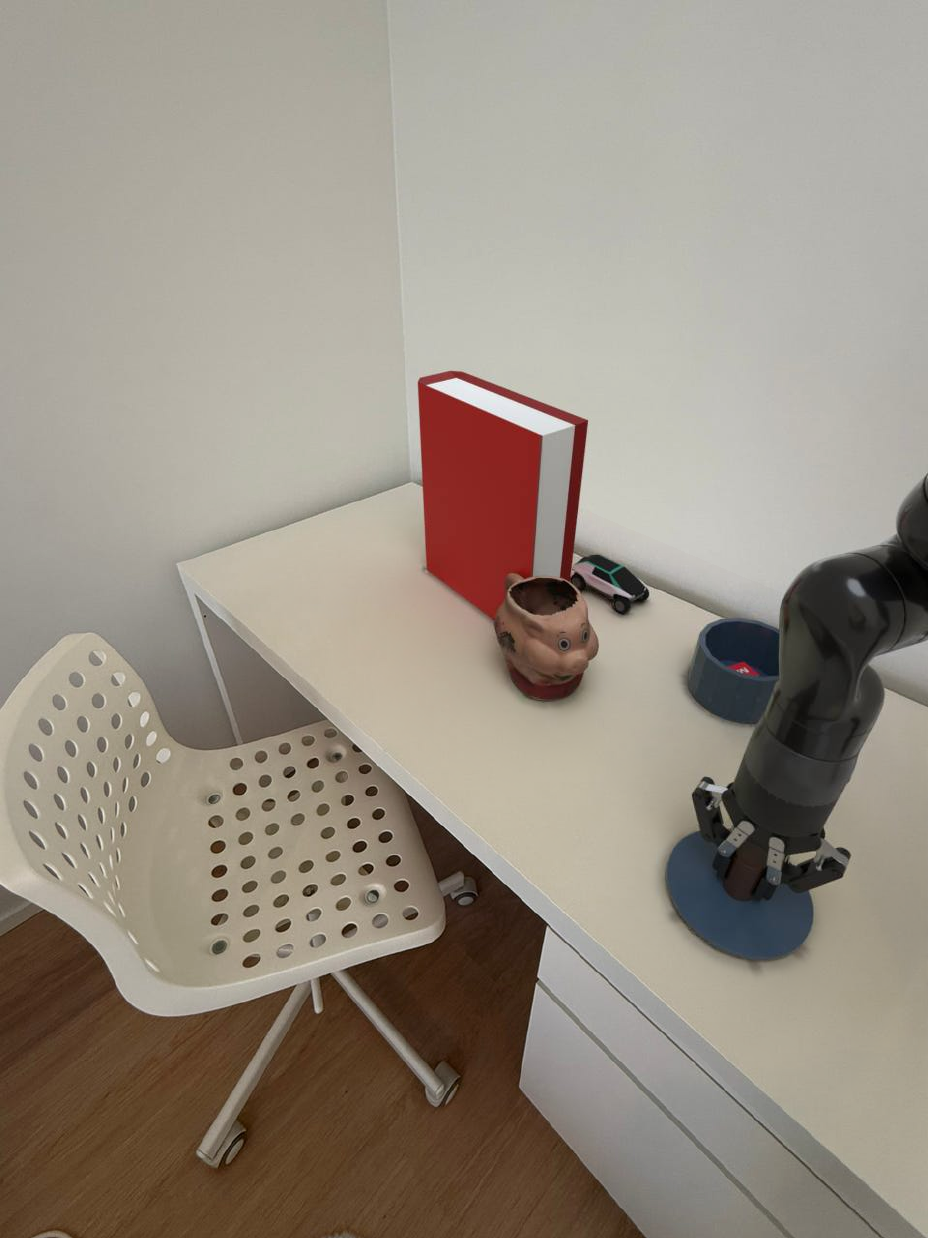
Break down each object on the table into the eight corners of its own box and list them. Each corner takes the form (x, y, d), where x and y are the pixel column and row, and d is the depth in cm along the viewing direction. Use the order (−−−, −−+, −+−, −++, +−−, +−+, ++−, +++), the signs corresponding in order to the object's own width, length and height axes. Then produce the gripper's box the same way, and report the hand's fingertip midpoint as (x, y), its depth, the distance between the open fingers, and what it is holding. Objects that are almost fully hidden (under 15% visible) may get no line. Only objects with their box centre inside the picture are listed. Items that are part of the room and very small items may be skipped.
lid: (827, 884, 65) (851, 845, 61) (782, 996, 57) (806, 960, 53) (698, 812, 72) (711, 773, 68) (641, 903, 64) (652, 864, 60)
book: (565, 624, 100) (588, 420, 80) (526, 644, 96) (540, 435, 76) (458, 551, 117) (456, 369, 97) (422, 566, 113) (412, 379, 94)
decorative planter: (464, 646, 95) (463, 566, 87) (532, 621, 100) (538, 543, 92) (542, 733, 81) (550, 648, 73) (617, 699, 86) (633, 616, 78)
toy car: (589, 572, 111) (593, 545, 108) (648, 602, 104) (653, 574, 101) (567, 585, 108) (570, 558, 105) (625, 617, 101) (630, 589, 98)
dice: (736, 697, 86) (742, 681, 84) (720, 683, 88) (726, 667, 86) (753, 691, 87) (759, 675, 85) (738, 677, 89) (743, 661, 87)
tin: (798, 685, 88) (816, 642, 84) (766, 739, 81) (784, 695, 76) (709, 648, 95) (721, 606, 90) (672, 694, 87) (683, 651, 83)
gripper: (693, 751, 54) (656, 868, 64) (877, 845, 47) (803, 959, 57) (727, 702, 59) (688, 818, 69) (900, 780, 51) (828, 897, 62)
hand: (741, 882), depth 63 cm, fingers closed on lid, 3 cm apart
